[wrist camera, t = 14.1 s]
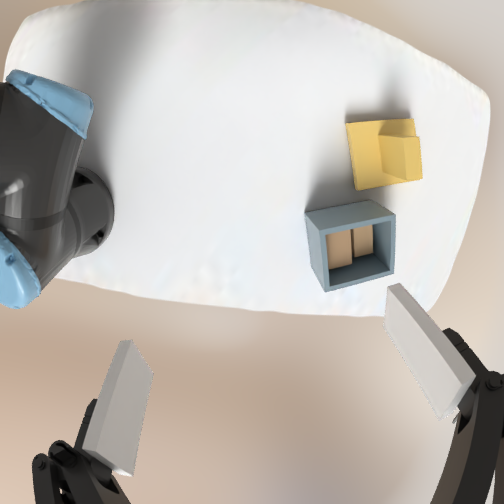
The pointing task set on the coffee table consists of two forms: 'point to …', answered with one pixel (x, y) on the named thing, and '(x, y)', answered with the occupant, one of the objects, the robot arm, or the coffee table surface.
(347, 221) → the box
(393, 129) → the lid
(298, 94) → the coffee table surface
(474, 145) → the coffee table surface
